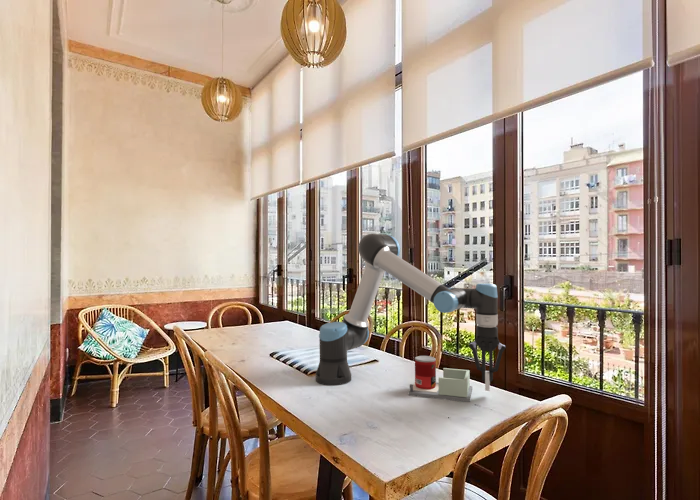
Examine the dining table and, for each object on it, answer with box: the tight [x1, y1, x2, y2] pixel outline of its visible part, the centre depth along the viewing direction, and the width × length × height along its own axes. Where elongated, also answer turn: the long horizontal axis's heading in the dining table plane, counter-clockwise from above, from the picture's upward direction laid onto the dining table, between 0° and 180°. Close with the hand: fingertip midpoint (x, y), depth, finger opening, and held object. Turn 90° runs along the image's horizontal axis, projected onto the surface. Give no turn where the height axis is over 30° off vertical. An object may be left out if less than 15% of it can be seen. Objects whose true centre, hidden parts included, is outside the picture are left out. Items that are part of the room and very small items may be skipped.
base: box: [408, 382, 473, 403], centre depth 158 cm, size 22×15×4 cm
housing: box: [438, 367, 471, 397], centre depth 157 cm, size 10×14×6 cm
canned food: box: [414, 355, 437, 389], centre depth 161 cm, size 8×8×11 cm
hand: (487, 389), depth 153 cm, fingers closed
